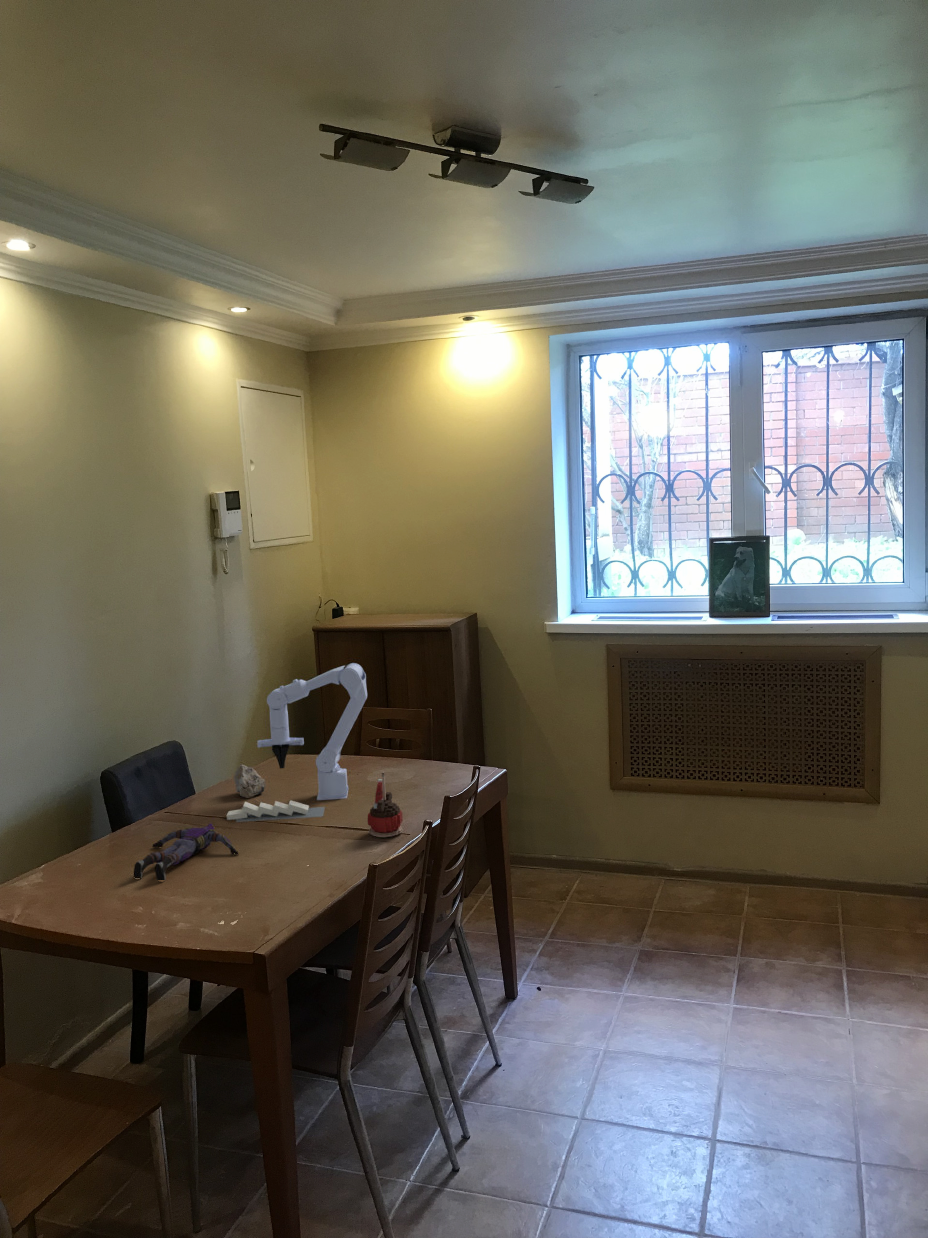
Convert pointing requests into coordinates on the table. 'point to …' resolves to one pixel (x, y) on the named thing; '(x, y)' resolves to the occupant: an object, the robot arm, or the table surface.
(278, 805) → the domino
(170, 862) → the figurine
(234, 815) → the domino
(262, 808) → the domino
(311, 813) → the mat
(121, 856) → the table surface
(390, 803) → the cake
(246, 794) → the rock
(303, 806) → the domino
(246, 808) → the domino
